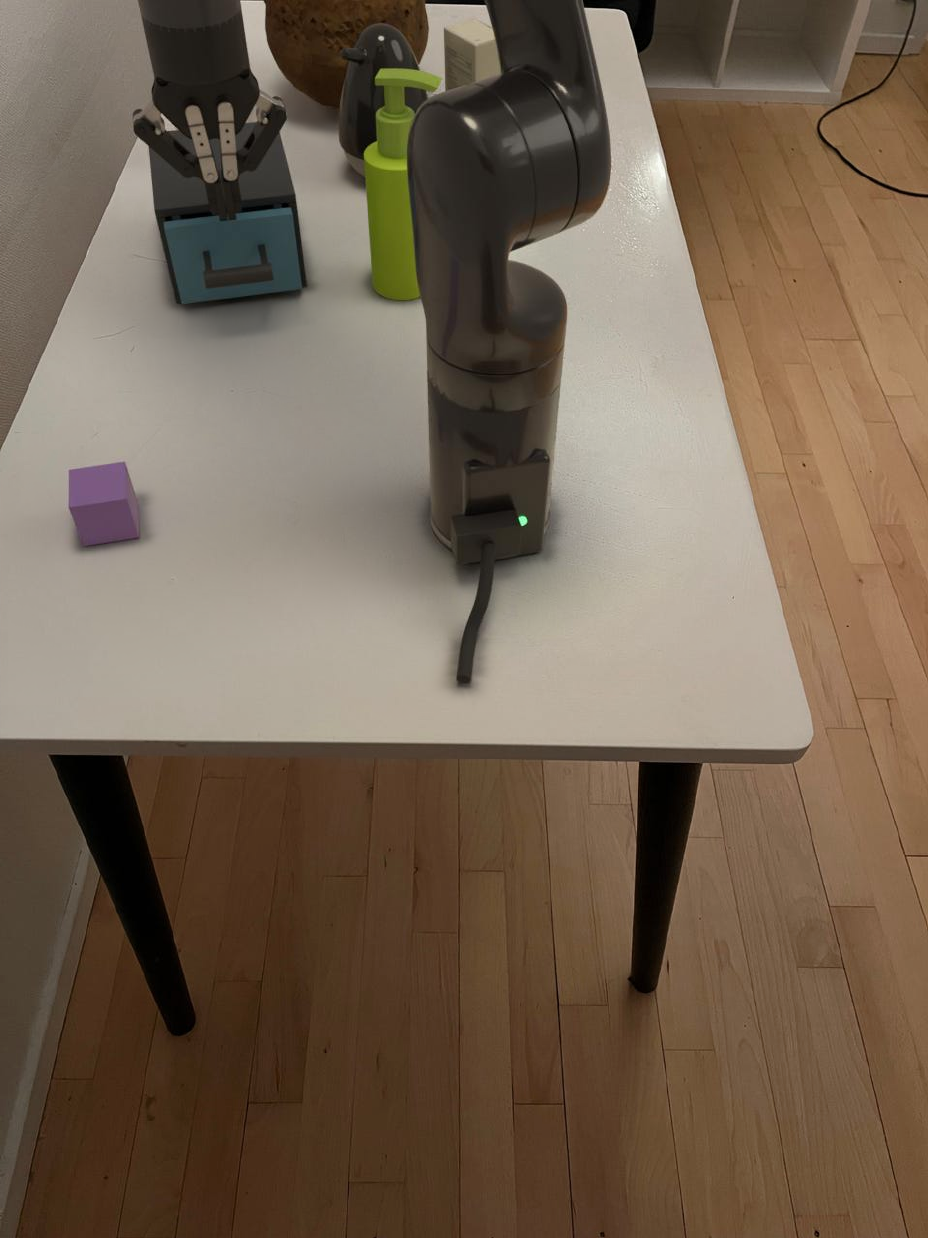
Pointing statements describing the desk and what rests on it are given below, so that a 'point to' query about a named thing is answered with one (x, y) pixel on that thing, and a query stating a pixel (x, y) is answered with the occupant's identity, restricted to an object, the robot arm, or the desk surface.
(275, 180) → the dark grey box
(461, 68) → the cosmetic box
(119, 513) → the lilac foam cube
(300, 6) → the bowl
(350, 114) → the black penguin figurine
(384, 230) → the soap dispenser
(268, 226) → the drawer
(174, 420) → the desk surface
